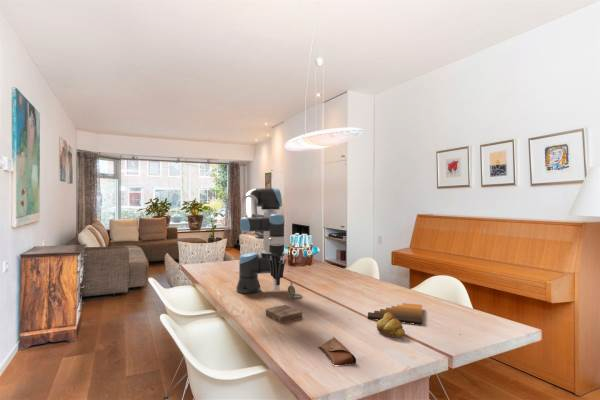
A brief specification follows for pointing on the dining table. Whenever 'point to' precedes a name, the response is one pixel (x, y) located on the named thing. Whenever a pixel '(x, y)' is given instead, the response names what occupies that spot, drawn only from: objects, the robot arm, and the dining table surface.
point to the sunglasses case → (337, 352)
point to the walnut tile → (283, 314)
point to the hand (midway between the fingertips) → (276, 290)
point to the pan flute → (401, 313)
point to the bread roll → (390, 326)
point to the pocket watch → (293, 292)
